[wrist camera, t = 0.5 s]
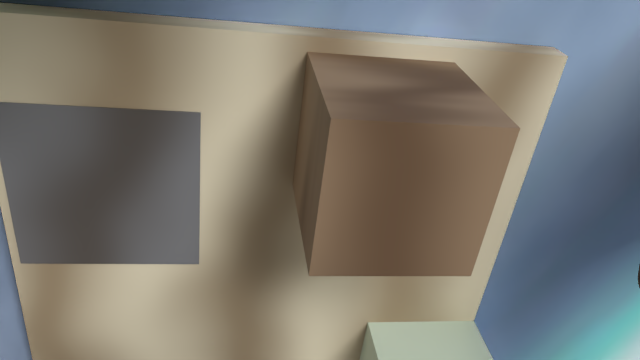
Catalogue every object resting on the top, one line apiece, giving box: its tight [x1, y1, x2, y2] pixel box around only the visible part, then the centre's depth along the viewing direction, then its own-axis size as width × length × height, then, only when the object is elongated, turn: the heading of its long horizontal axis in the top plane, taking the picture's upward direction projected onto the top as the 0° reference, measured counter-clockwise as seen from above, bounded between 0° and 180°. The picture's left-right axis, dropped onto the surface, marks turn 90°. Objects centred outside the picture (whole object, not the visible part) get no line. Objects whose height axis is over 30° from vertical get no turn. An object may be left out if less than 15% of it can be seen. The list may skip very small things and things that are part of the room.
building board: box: [0, 2, 568, 360], centre depth 22 cm, size 19×18×1 cm
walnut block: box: [293, 52, 520, 276], centre depth 17 cm, size 5×5×5 cm
